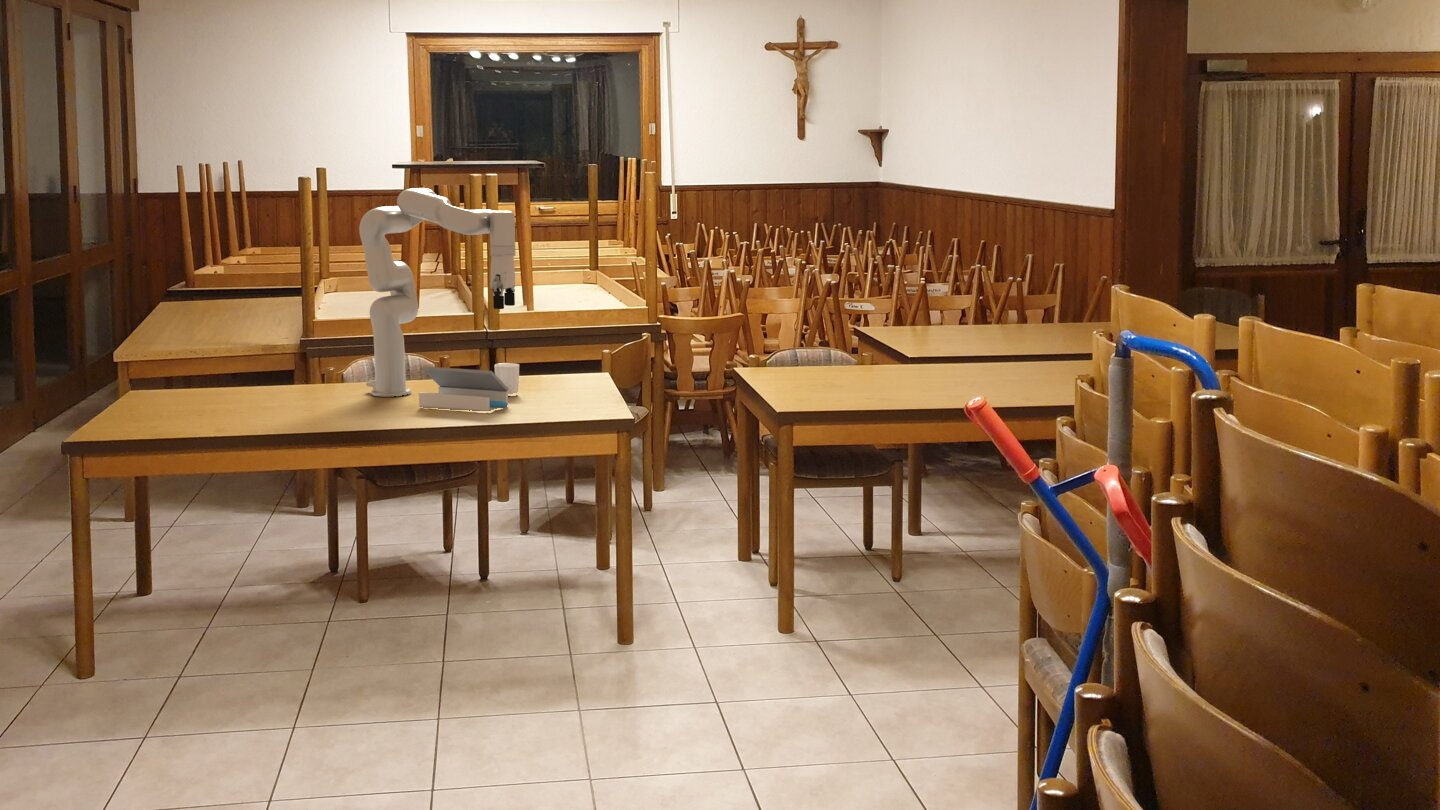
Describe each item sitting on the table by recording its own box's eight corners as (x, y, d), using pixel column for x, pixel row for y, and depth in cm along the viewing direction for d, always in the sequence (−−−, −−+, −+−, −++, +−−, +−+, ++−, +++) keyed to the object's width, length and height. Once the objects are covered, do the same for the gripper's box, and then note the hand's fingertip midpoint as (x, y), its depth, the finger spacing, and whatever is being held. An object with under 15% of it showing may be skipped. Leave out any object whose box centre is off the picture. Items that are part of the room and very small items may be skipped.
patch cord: (422, 402, 440) (422, 396, 440) (426, 401, 442) (426, 395, 442) (505, 408, 430) (504, 402, 430) (508, 407, 432) (508, 401, 432)
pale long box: (419, 408, 435) (418, 392, 434) (440, 402, 446) (440, 386, 445) (488, 414, 427) (487, 397, 426) (508, 407, 438) (507, 391, 437)
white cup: (502, 392, 464) (501, 362, 462) (524, 394, 462) (523, 363, 460) (490, 396, 457) (489, 365, 455) (512, 398, 454) (512, 367, 452)
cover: (422, 369, 435) (422, 366, 436) (440, 386, 445) (441, 383, 446) (490, 373, 427) (491, 370, 427) (507, 391, 437) (508, 388, 437)
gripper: (501, 249, 445) (502, 304, 448) (481, 253, 428) (482, 309, 431) (524, 249, 443) (525, 304, 446) (505, 253, 427) (506, 310, 430)
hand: (504, 307), depth 439 cm, fingers open, 9 cm apart
